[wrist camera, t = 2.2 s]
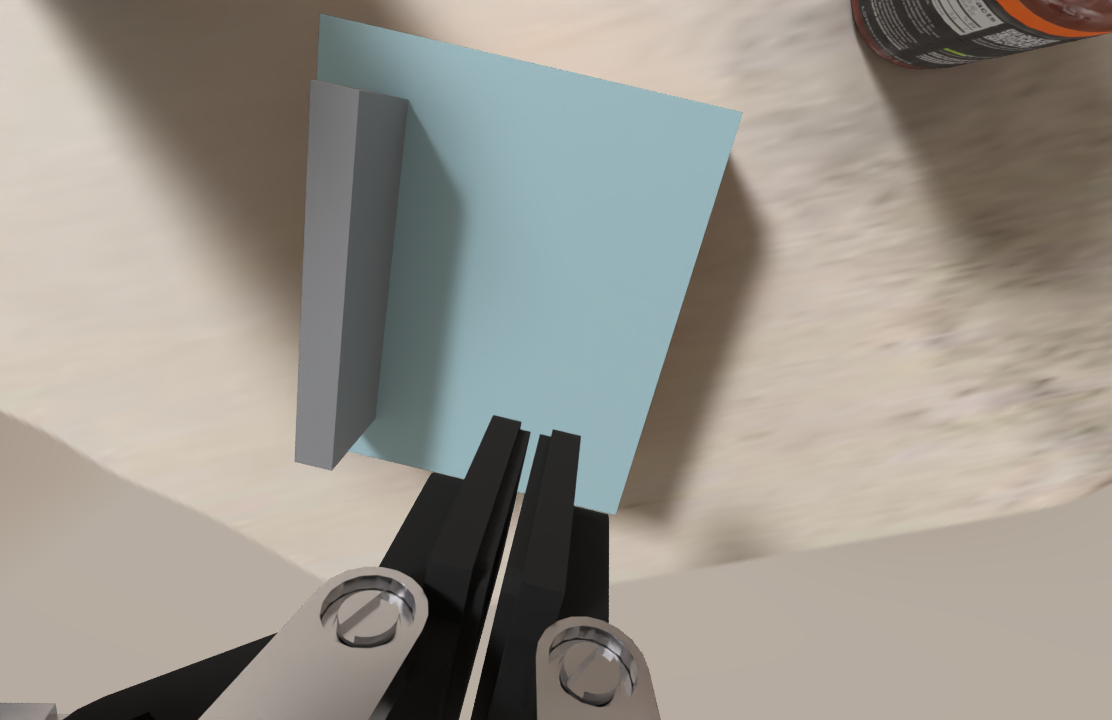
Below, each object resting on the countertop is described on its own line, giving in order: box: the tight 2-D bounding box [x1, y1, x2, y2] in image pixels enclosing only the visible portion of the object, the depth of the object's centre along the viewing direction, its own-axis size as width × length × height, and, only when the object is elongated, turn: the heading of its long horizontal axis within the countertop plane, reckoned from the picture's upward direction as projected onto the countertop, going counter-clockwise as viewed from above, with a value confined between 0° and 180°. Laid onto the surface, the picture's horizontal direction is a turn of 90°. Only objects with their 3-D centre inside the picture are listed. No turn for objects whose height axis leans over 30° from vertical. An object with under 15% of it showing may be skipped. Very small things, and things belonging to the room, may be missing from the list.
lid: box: [295, 13, 743, 515], centre depth 17 cm, size 14×12×4 cm
